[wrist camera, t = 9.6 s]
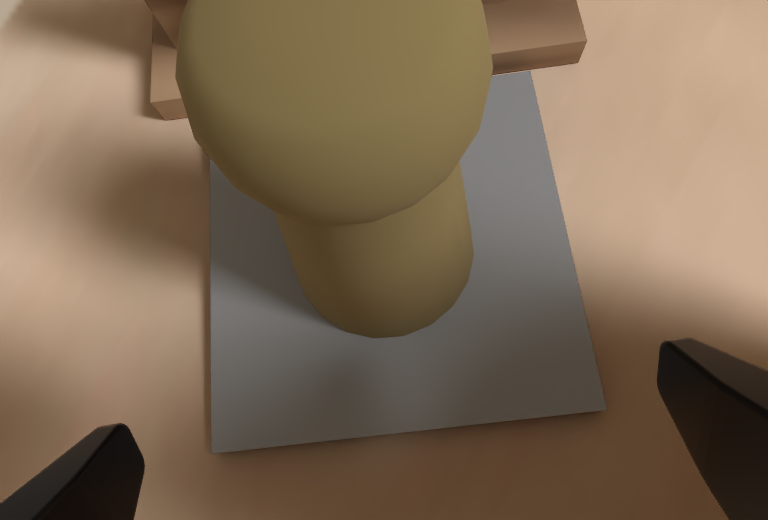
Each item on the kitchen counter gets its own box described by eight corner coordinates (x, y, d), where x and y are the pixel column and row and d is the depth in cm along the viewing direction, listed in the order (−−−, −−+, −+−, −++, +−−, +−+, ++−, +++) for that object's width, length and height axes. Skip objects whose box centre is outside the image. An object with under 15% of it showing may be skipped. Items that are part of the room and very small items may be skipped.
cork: (281, 330, 17) (55, 178, 7) (307, 163, 19) (158, -159, 9) (469, 346, 17) (534, 203, 6) (477, 171, 18) (539, -167, 8)
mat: (601, 410, 16) (607, 409, 16) (218, 452, 17) (211, 453, 16) (527, 81, 20) (530, 70, 20) (215, 124, 21) (209, 116, 20)
